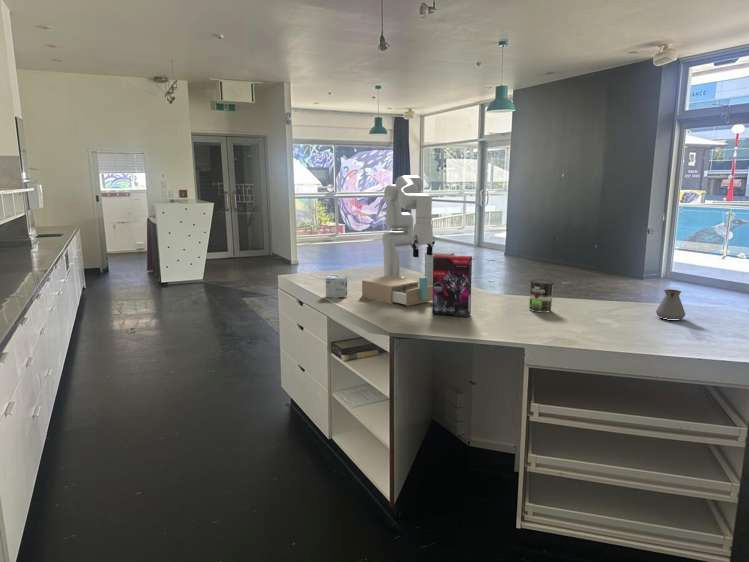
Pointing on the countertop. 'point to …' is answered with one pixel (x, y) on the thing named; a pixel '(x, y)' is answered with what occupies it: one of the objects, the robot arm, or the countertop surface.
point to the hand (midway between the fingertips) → (422, 256)
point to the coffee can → (541, 295)
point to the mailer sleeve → (384, 287)
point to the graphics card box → (452, 285)
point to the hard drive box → (431, 266)
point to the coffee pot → (671, 306)
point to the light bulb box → (336, 286)
